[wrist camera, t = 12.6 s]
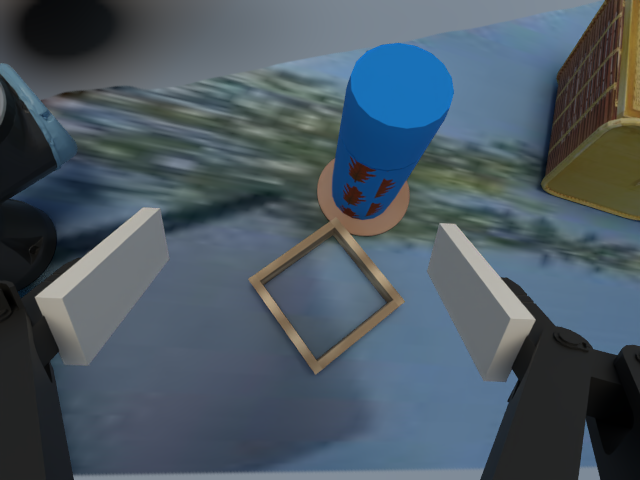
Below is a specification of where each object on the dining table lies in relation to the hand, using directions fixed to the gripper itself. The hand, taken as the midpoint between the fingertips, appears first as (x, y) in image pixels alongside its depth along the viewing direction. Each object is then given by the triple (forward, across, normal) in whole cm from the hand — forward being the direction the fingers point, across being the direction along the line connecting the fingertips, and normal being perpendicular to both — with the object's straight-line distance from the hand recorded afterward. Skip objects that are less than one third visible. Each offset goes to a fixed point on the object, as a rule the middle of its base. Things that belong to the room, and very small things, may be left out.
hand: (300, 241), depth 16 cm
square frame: (+28, +3, -24) cm, 37 cm away
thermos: (+40, +9, -12) cm, 43 cm away
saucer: (+41, +9, -12) cm, 43 cm away
